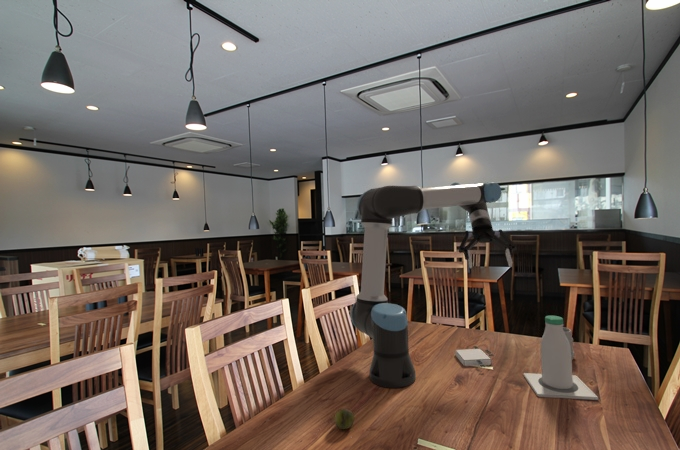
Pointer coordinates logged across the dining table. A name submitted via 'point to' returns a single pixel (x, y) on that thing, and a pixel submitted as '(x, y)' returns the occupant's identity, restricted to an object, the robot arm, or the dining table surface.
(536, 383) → the pad
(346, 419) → the lime
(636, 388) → the dining table surface
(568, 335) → the mug
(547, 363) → the milk bottle
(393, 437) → the dining table surface
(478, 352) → the white block with labels
